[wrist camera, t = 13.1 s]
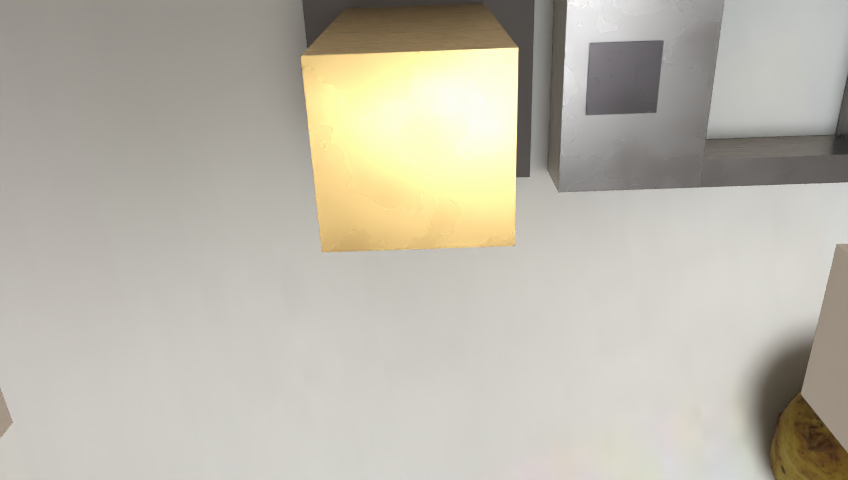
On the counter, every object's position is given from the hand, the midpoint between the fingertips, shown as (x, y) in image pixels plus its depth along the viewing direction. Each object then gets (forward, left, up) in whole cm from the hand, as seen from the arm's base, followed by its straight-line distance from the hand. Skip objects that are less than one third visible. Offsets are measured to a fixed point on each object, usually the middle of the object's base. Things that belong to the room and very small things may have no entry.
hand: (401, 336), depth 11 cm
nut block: (0, 0, -22) cm, 22 cm away
